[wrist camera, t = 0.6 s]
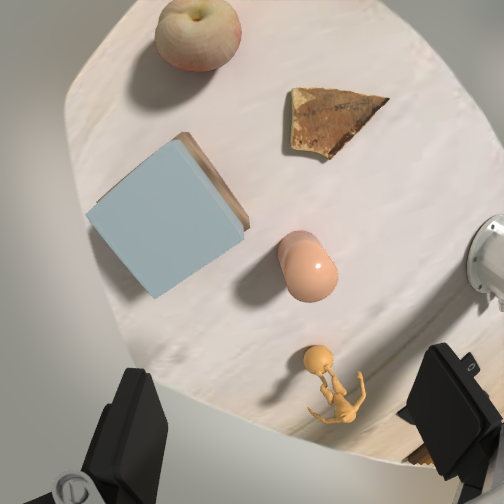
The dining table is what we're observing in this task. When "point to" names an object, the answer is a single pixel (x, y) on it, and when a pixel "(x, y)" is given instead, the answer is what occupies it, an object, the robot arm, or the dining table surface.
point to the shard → (329, 118)
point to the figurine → (321, 362)
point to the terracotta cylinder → (306, 267)
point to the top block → (166, 219)
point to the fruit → (198, 34)
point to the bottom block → (211, 174)
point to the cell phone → (471, 367)
